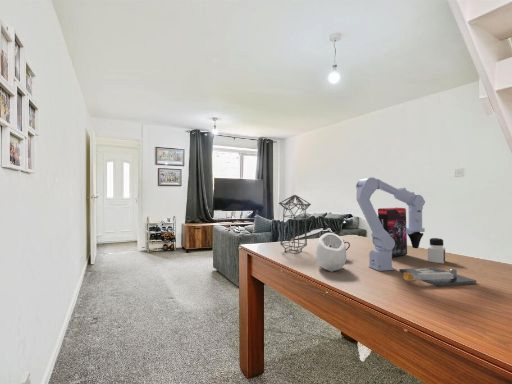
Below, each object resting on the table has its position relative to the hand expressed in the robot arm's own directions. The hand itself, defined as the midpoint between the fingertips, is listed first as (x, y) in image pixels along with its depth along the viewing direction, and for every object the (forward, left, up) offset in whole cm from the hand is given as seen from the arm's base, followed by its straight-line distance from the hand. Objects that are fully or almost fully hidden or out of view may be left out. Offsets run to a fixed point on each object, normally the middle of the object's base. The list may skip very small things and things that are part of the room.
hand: (415, 247), depth 137 cm
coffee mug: (-26, +26, -10) cm, 38 cm away
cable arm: (-13, -23, -8) cm, 27 cm away
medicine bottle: (+20, +8, -10) cm, 24 cm away
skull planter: (-40, +8, -10) cm, 42 cm away
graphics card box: (+7, +25, -10) cm, 28 cm away
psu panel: (-4, -16, -9) cm, 19 cm away
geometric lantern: (-44, +47, -10) cm, 65 cm away
